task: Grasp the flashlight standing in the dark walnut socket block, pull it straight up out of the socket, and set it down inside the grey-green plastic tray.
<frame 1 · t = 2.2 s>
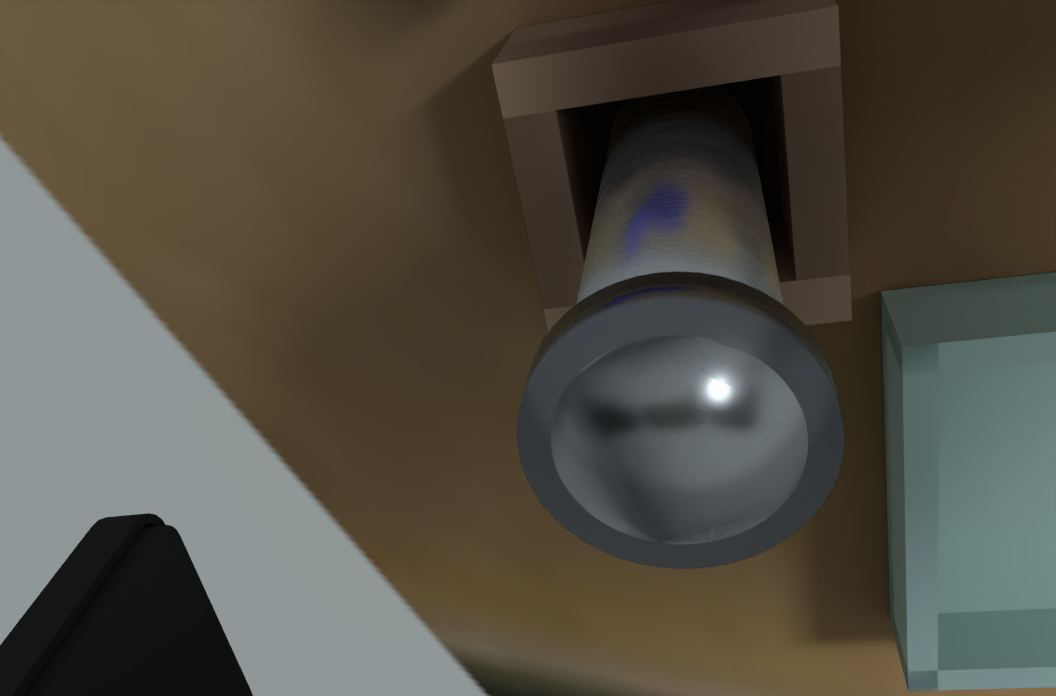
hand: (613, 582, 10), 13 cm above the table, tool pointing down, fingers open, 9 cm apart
flashlight: (679, 146, 21), resting in socket
socket: (679, 146, 21), on the table
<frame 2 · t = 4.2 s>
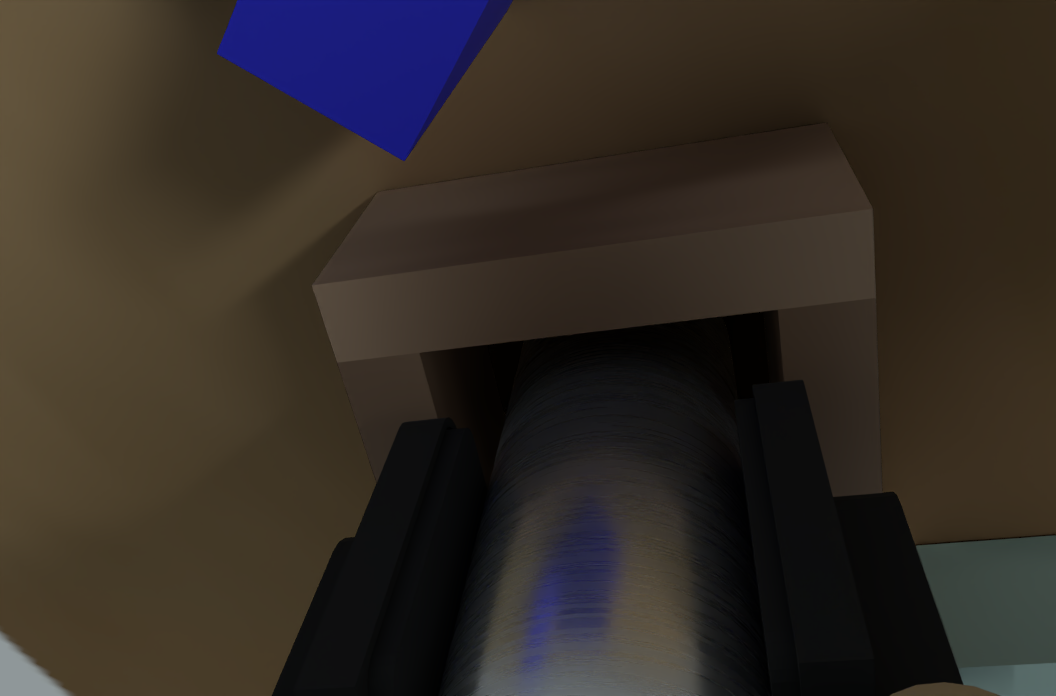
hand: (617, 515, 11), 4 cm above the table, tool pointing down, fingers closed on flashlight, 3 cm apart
flashlight: (625, 354, 14), resting in socket, touching gripper
socket: (625, 354, 14), on the table
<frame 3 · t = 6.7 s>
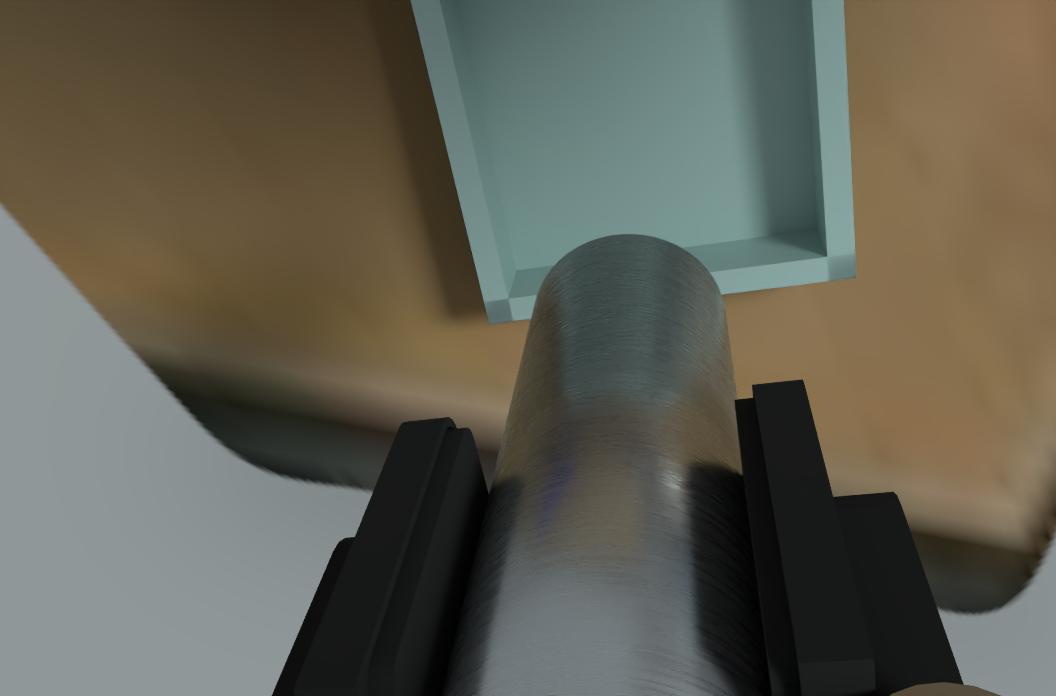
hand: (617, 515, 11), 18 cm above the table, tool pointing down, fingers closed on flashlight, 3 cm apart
flashlight: (628, 323, 15), point 13 cm above the table, touching gripper
tray: (641, 97, 27), on the table
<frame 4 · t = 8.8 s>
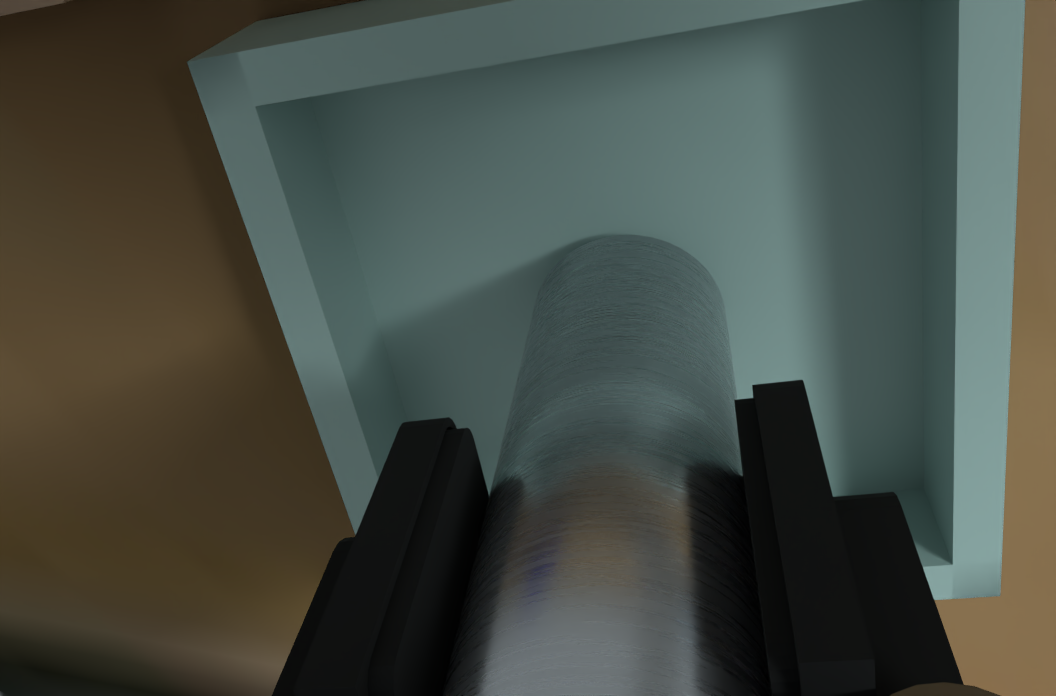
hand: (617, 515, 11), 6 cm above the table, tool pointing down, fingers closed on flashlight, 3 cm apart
flashlight: (628, 323, 15), point 1 cm above the table, touching gripper
tray: (636, 278, 16), on the table
when the fingers open (5 cm above the table, at t = 9.6 s): flashlight stays where it is, resting on tray.
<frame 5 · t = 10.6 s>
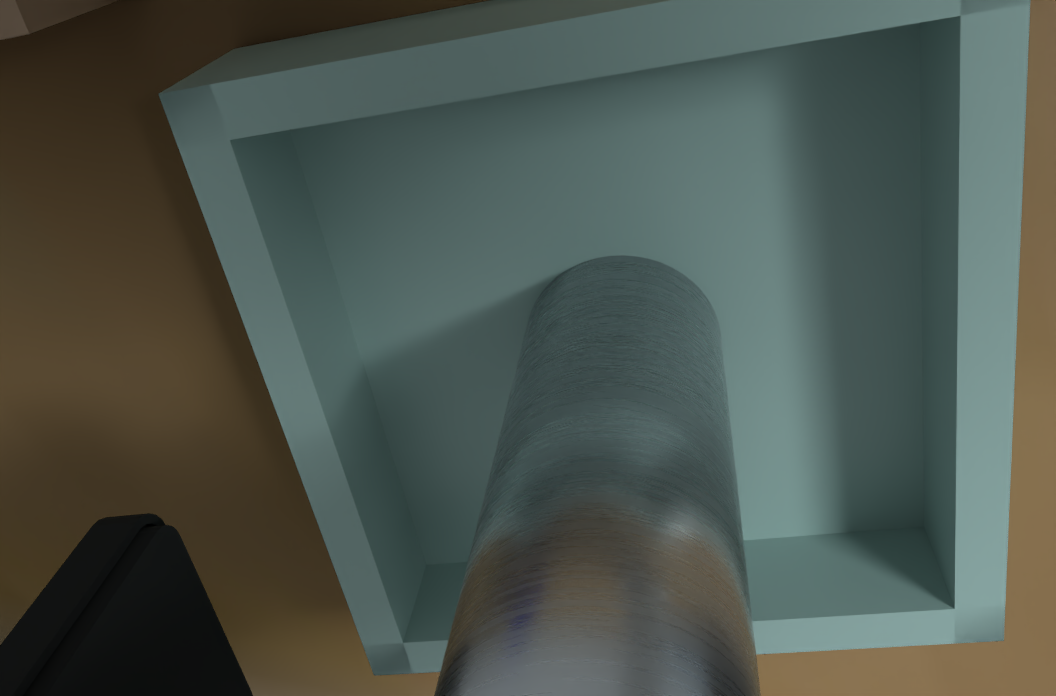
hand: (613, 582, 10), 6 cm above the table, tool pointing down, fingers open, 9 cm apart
flashlight: (622, 344, 15), point 1 cm above the table, touching tray
tray: (627, 311, 16), on the table
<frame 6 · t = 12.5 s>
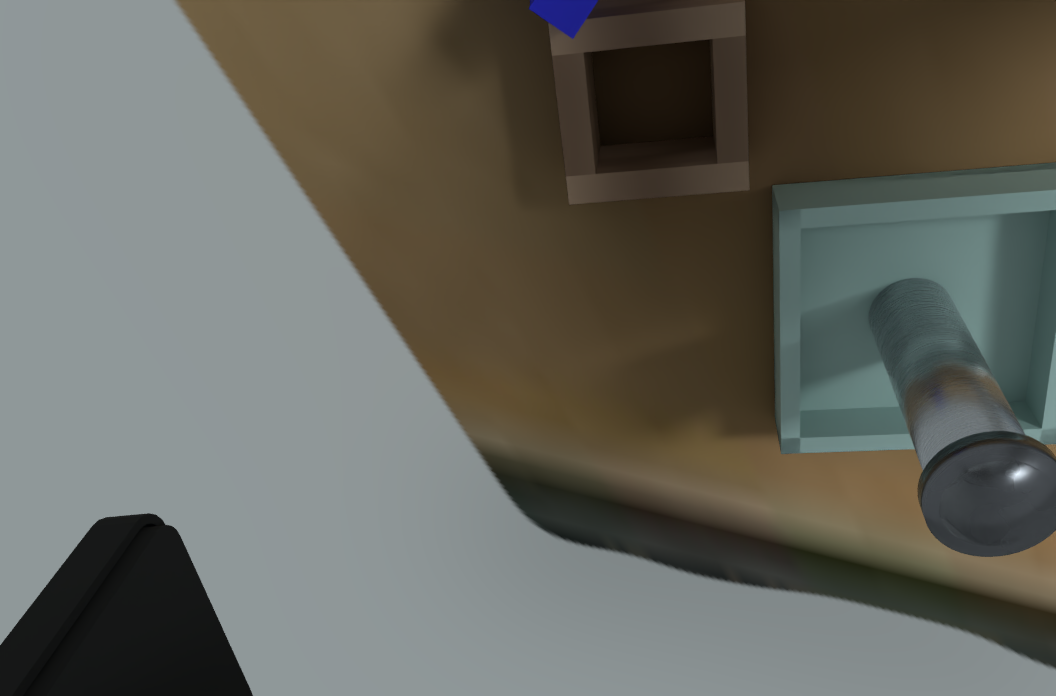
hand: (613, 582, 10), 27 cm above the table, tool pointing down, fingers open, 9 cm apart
flashlight: (910, 314, 36), point 1 cm above the table, touching tray
tray: (910, 300, 37), on the table
socket: (652, 85, 34), on the table
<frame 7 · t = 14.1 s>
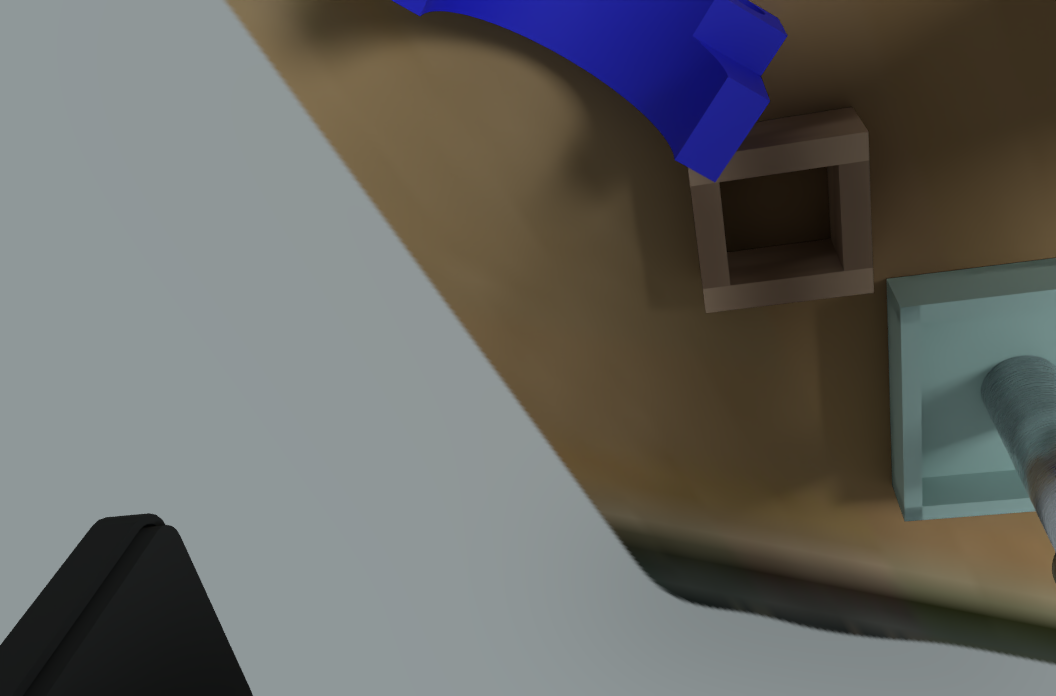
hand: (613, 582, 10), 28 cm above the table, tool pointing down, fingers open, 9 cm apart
flashlight: (1021, 387, 39), point 1 cm above the table, touching tray
tray: (1019, 374, 40), on the table
socket: (773, 197, 37), on the table
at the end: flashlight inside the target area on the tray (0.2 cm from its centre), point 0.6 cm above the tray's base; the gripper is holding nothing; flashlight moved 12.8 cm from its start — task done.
